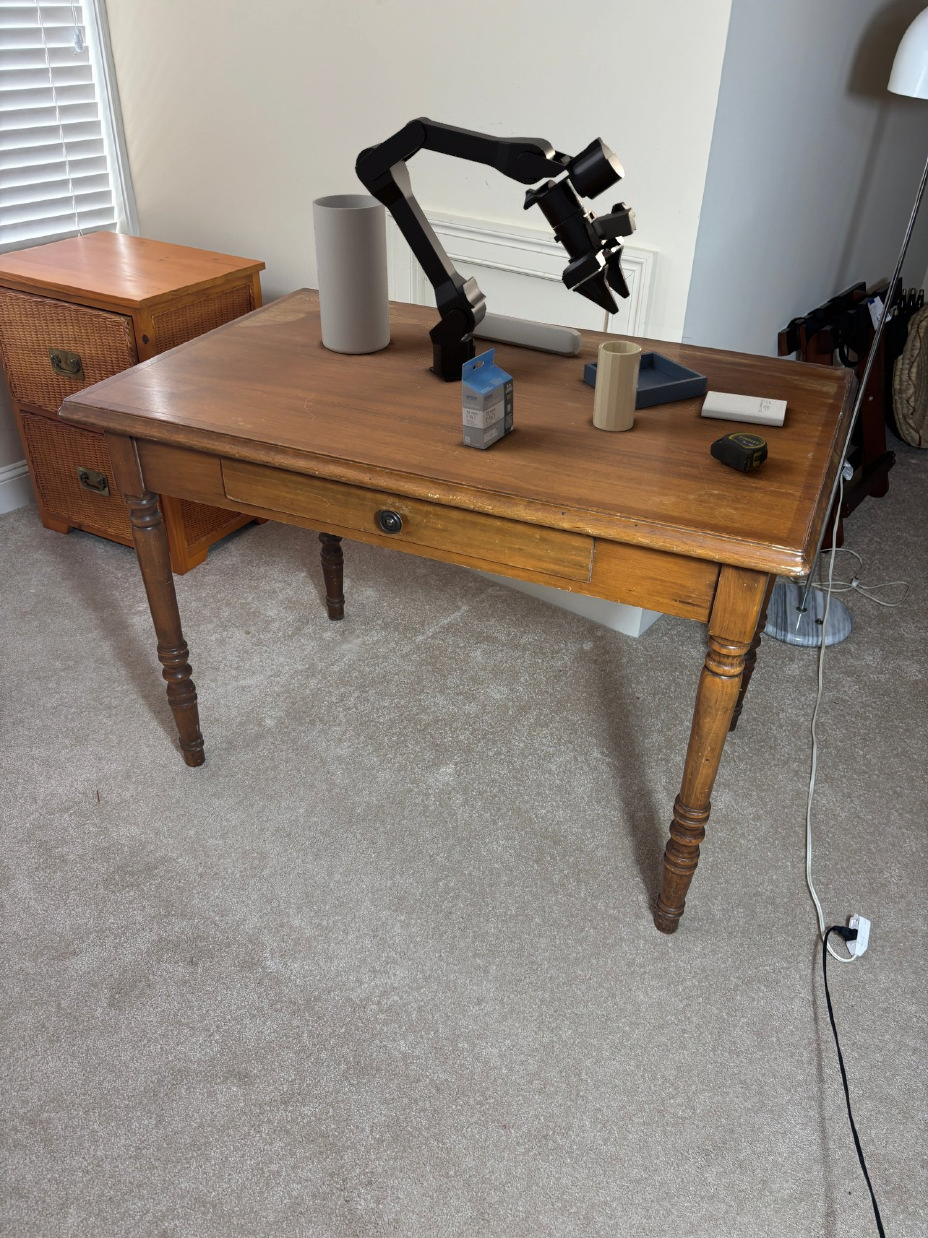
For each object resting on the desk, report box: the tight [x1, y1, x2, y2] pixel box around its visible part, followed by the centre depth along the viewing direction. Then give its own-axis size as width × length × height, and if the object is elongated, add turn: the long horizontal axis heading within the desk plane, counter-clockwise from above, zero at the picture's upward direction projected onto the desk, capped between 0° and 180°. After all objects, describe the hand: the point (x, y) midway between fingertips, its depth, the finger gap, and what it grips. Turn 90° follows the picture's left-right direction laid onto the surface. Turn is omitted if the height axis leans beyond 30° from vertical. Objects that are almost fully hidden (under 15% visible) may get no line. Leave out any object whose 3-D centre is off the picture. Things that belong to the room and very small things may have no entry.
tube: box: [470, 311, 583, 357], centre depth 182 cm, size 5×5×25 cm
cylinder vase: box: [311, 193, 391, 355], centre depth 176 cm, size 12×12×25 cm
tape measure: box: [709, 431, 769, 473], centre depth 139 cm, size 7×7×4 cm
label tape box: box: [461, 347, 515, 450], centre depth 144 cm, size 9×4×12 cm, turn 148°
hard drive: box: [700, 390, 788, 427], centre depth 156 cm, size 2×8×12 cm
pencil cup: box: [592, 340, 642, 432], centre depth 149 cm, size 6×6×12 cm
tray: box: [582, 351, 708, 410], centre depth 165 cm, size 15×15×3 cm
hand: (622, 304), depth 155 cm, fingers open, 9 cm apart
